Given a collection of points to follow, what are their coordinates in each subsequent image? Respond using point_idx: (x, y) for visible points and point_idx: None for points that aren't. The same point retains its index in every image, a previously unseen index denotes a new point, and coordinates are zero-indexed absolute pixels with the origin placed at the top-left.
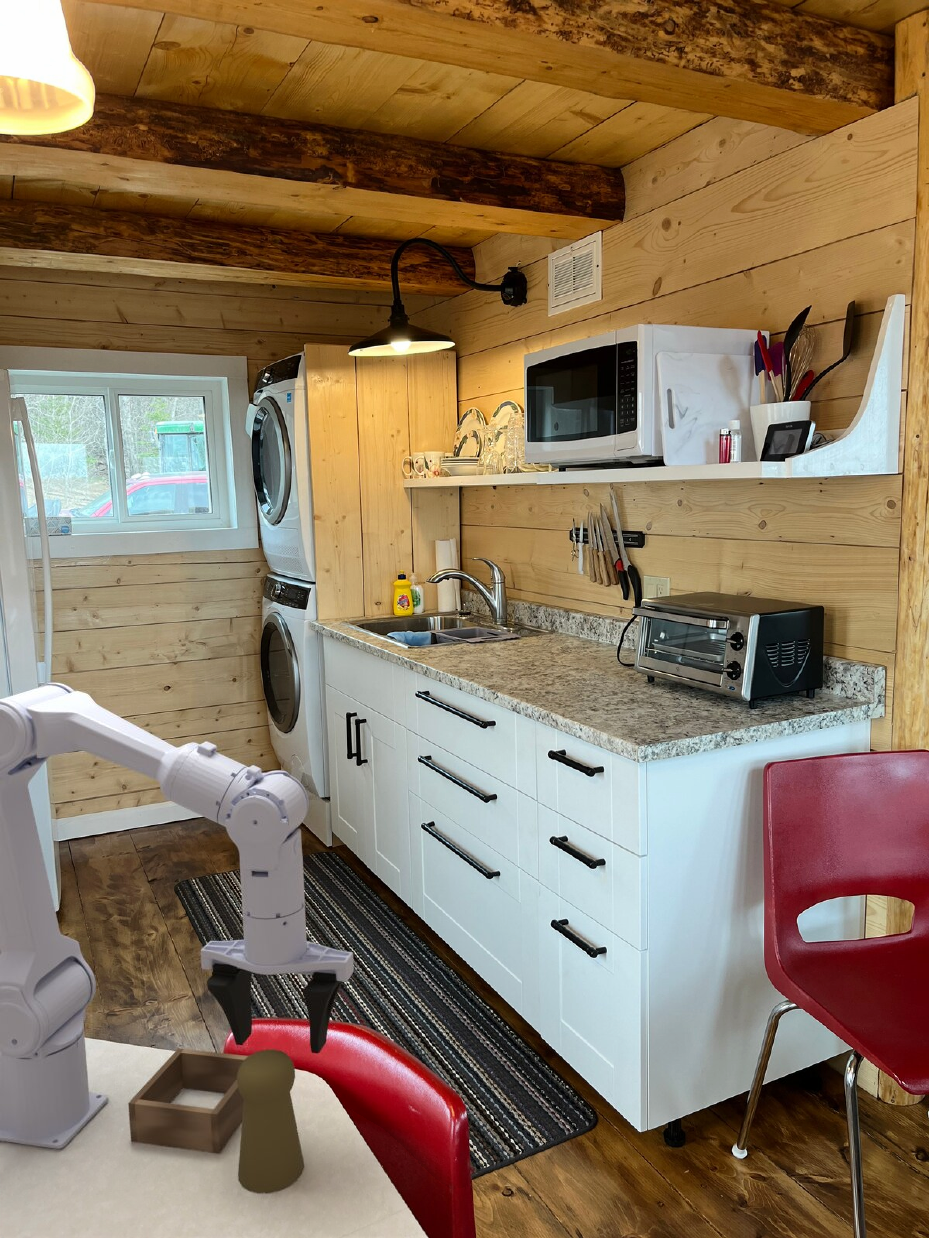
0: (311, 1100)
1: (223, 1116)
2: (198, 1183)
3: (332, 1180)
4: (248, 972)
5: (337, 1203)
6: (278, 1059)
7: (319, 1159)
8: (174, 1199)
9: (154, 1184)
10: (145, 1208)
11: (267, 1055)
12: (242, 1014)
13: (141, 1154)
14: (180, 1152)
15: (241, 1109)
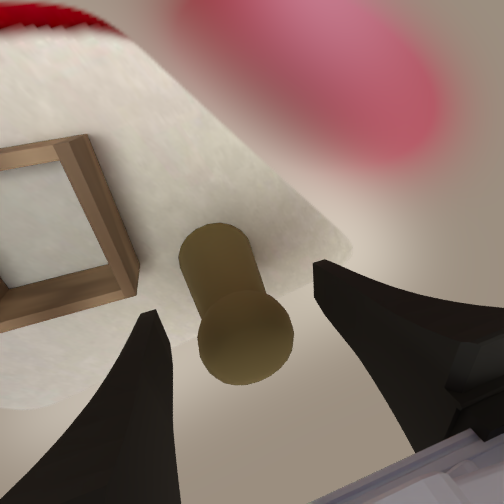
0: (180, 120)
1: (131, 272)
2: (155, 303)
3: (284, 241)
4: (136, 469)
5: (301, 261)
6: (278, 351)
7: (257, 222)
8: None
9: (111, 325)
10: None
11: (254, 355)
12: (162, 387)
13: None
14: None
15: (114, 213)
